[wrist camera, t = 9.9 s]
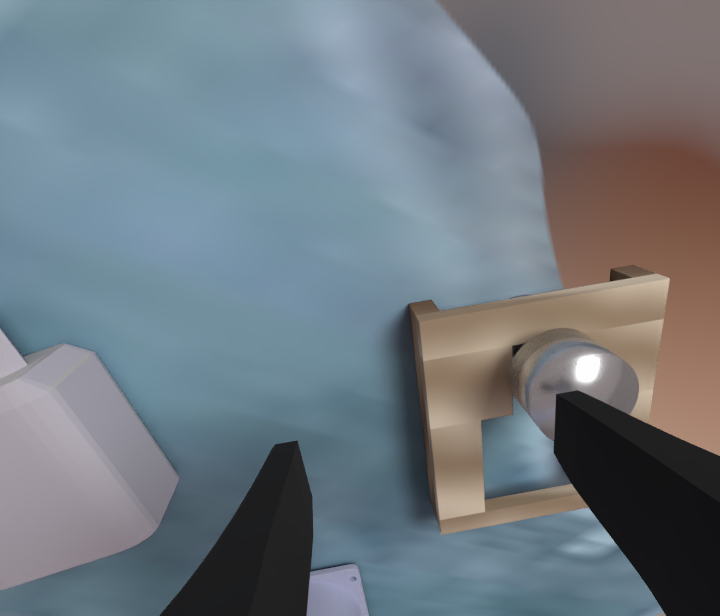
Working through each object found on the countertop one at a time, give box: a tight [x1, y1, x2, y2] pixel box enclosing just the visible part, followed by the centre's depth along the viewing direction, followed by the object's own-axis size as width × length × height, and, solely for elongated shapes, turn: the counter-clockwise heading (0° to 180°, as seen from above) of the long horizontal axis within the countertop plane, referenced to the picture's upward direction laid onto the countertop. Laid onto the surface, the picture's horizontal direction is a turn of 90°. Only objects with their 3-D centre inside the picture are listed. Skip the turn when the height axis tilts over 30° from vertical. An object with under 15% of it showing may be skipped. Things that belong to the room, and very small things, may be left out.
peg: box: [508, 295, 639, 441], centre depth 19 cm, size 5×5×6 cm
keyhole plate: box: [409, 265, 670, 535], centre depth 22 cm, size 14×12×2 cm
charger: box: [0, 328, 179, 590], centre depth 19 cm, size 5×9×15 cm
